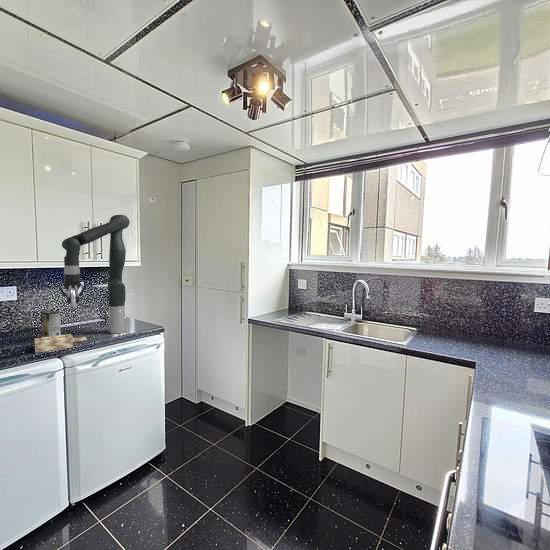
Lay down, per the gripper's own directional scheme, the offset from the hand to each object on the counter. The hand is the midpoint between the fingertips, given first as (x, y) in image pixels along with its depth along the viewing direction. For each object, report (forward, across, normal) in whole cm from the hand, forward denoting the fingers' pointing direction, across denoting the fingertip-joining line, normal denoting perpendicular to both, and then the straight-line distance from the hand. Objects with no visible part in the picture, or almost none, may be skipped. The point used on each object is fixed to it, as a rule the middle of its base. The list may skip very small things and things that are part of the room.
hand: (73, 303), depth 173 cm
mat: (+22, -2, 0) cm, 22 cm away
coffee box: (+22, +10, -12) cm, 27 cm away
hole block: (+22, +10, +9) cm, 26 cm away
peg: (+3, 0, 0) cm, 3 cm away
